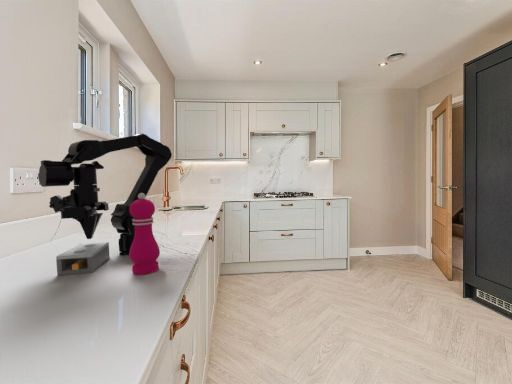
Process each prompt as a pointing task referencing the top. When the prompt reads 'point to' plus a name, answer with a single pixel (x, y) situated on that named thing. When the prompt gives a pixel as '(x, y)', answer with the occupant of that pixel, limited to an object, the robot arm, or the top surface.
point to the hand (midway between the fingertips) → (89, 238)
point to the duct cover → (83, 250)
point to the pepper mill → (143, 237)
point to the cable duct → (82, 263)
